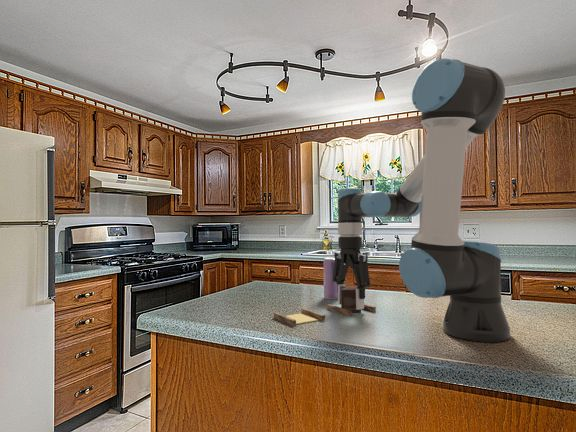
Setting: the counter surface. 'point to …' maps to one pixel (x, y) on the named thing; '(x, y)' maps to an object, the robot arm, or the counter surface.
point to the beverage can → (329, 279)
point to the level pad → (302, 318)
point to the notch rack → (318, 315)
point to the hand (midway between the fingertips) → (350, 306)
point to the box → (349, 298)
